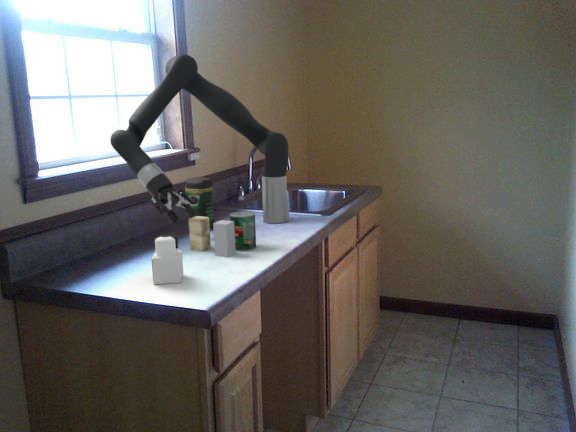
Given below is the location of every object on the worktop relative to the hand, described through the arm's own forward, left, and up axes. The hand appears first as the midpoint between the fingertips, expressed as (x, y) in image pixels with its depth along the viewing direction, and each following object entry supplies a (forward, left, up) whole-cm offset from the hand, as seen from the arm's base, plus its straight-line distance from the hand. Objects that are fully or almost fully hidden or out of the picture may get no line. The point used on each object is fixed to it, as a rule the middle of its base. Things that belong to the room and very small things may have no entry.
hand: (185, 218), depth 183 cm
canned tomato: (-17, +8, -10) cm, 21 cm away
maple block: (-4, +4, -10) cm, 11 cm away
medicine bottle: (+9, +31, -10) cm, 33 cm away
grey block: (-10, +13, -10) cm, 18 cm away
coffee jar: (-9, -24, -10) cm, 28 cm away
